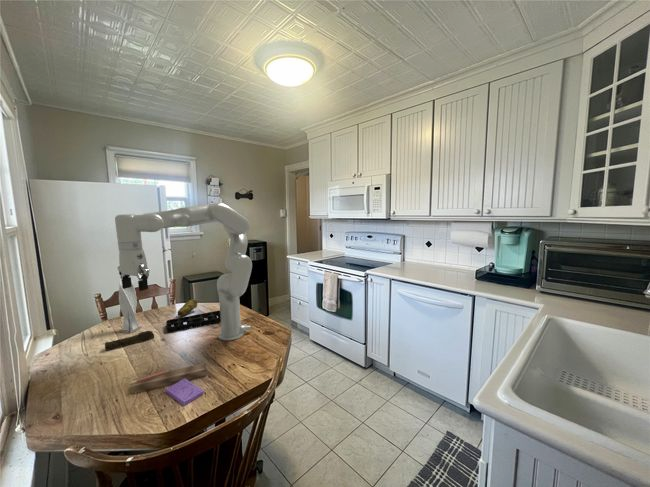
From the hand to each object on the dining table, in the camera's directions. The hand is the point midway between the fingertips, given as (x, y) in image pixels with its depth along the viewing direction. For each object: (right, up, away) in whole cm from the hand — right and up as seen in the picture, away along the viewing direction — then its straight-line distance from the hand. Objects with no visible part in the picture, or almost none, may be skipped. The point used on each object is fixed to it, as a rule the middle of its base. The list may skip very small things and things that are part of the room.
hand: (135, 288), depth 106 cm
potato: (-10, -26, +60) cm, 66 cm away
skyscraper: (-30, -29, +38) cm, 56 cm away
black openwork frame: (+2, -28, +45) cm, 53 cm away
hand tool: (-18, -31, +23) cm, 42 cm away
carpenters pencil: (+12, -31, -9) cm, 34 cm away
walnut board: (+18, -33, -7) cm, 38 cm away
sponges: (+27, -35, -13) cm, 45 cm away
